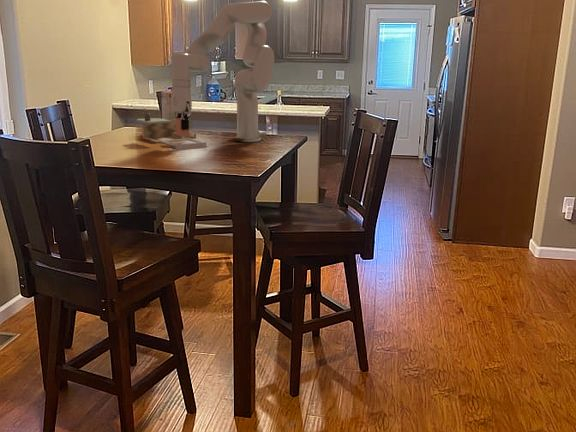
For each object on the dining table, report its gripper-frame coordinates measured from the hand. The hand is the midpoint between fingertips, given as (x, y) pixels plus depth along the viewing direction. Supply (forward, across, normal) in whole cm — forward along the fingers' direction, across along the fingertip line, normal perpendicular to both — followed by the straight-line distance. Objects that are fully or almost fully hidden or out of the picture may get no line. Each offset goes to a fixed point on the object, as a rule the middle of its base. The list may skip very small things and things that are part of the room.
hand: (182, 128), depth 234 cm
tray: (+8, 0, 0) cm, 8 cm away
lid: (-2, -16, -5) cm, 17 cm away
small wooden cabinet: (+8, -16, +3) cm, 18 cm away
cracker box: (+8, -32, +11) cm, 35 cm away
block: (+3, 0, 0) cm, 3 cm away
